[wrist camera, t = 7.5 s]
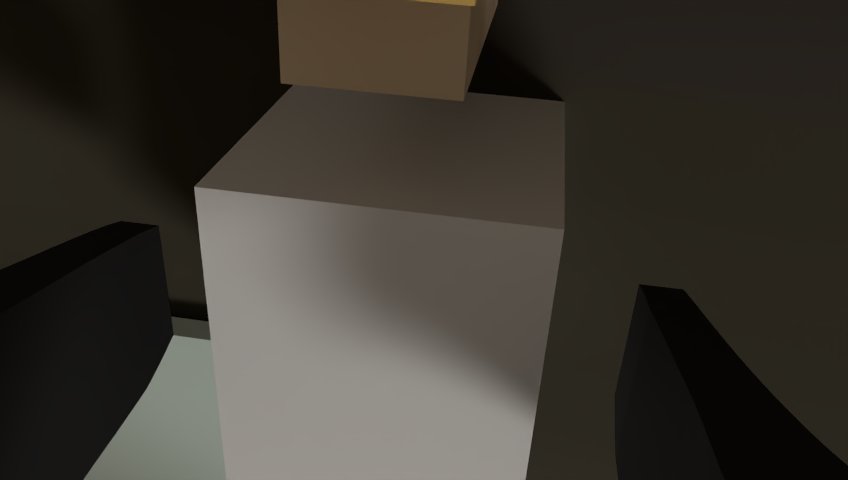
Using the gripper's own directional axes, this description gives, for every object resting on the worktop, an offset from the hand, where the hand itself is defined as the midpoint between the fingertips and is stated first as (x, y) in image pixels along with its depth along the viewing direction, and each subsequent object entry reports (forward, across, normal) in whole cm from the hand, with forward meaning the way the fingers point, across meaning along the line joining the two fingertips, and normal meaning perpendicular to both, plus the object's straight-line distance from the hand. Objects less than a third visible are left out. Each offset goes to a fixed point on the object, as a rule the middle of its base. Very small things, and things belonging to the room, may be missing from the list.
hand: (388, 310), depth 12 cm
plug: (+3, 0, +1) cm, 3 cm away
